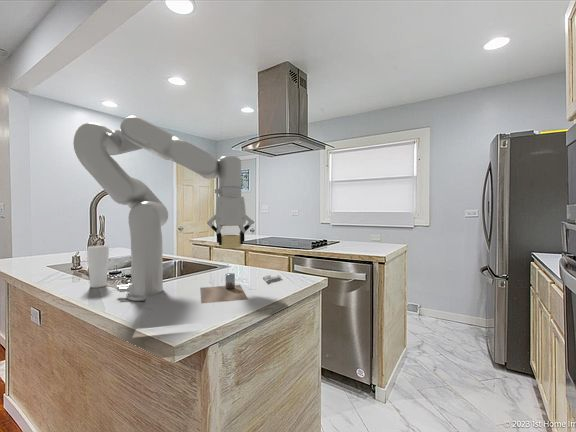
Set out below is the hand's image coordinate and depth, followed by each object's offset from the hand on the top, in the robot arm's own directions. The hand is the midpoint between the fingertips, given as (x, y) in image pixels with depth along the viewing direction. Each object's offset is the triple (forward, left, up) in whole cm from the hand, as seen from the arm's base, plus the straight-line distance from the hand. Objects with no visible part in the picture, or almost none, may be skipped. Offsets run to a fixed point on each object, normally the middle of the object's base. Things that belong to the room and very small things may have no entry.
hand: (230, 243), depth 105 cm
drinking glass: (-47, +22, -17) cm, 54 cm away
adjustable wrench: (+13, +9, -18) cm, 23 cm away
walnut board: (-3, -5, -17) cm, 18 cm away
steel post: (0, 0, -16) cm, 16 cm away
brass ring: (0, 0, -1) cm, 1 cm away
